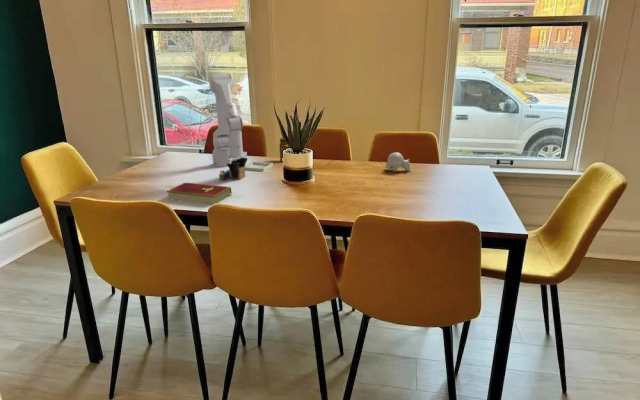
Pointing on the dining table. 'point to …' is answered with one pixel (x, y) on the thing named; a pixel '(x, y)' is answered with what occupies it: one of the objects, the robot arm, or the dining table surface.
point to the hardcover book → (199, 193)
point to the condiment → (282, 147)
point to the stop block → (240, 173)
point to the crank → (224, 175)
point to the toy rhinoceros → (397, 162)
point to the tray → (258, 164)
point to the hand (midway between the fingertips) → (238, 175)
